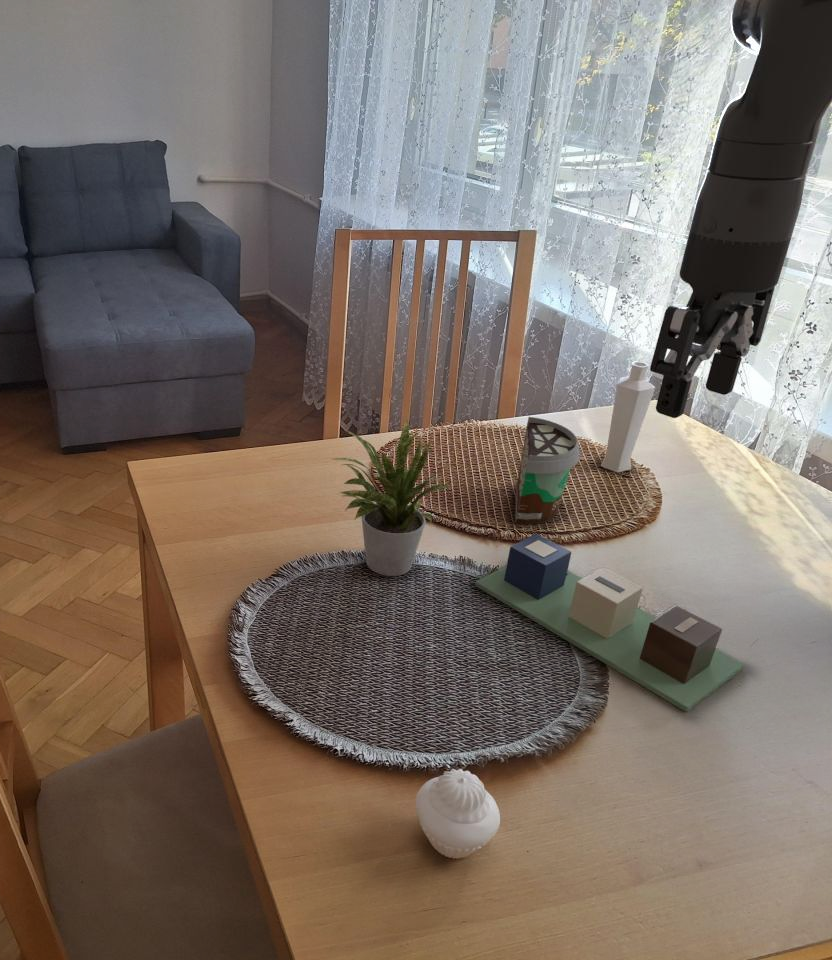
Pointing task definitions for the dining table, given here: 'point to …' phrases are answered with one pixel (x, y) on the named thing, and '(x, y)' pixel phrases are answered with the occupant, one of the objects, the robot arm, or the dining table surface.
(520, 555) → the navy block
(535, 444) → the food container
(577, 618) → the cream block
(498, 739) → the dining table surface
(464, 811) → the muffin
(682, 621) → the walnut block
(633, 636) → the green board
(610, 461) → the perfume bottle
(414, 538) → the house plant
